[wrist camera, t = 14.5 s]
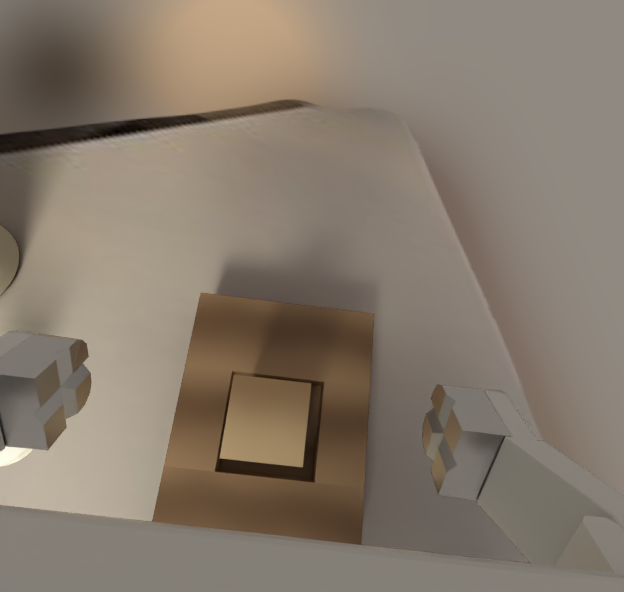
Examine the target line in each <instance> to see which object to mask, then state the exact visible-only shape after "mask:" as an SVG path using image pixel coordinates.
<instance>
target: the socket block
mask: <svg viewBox="0 0 624 592" xmlns="http://www.w3.org/2000/svg"><path fill="white" fill-rule="evenodd" d="M373 327H374V314H371V313H363V312H354V311H346V310H338V309H330V308H322V307H314V306H306V305H298V304H289V303H281V302H273V301H265V300H257V299H249V298H241V297H232V296H224V295H216V294H208V293H201V294H200V298H199V303H198V308H197V313H196V317H195V322H194V327H193V331H192V336H191V341H190V346H189V350H188V355H187V360H186V364H185V369H184V374H183V379H182V383H181V388H180V393H179V397H178V402H177V407H176V412H175V416H174V421H173V426H172V431H171V435H170V440H169V445H168V449H167V454H166V459H165V464H164V468H163V473H162V478H161V482H160V487H159V492H158V497H157V501H156V506H155V511H154V516H153V520H152V522H159V523H168V524H178V525H187V526H196V527H205V528H214V529H223V530H232V531H241V532H251V533H260V534H269V535H278V536H287V537H296V538H305V539H314V540H323V541H331V542H340V543H349V544H358V545H361V538H362V520H363V503H364V485H365V468H366V450H367V432H368V415H369V397H370V380H371V362H372V345H373ZM234 375H243V376H251V377H260V378H269V379H277V380H286V381H294V382H303V383H311V393H310V402H309V412H308V421H307V431H306V440H305V450H304V459H303V467H294V466H285V465H276V464H267V463H258V462H249V461H240V460H231V459H222V458H220V453H221V447H222V441H223V435H224V429H225V423H226V417H227V412H228V406H229V400H230V394H231V388H232V382H233V376H234Z"/></svg>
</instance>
